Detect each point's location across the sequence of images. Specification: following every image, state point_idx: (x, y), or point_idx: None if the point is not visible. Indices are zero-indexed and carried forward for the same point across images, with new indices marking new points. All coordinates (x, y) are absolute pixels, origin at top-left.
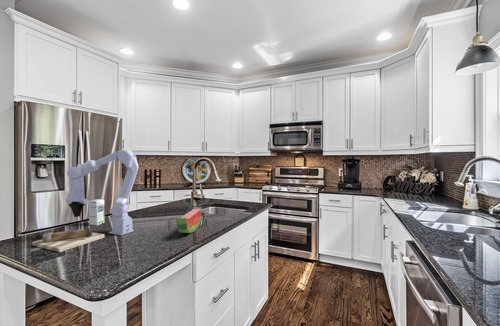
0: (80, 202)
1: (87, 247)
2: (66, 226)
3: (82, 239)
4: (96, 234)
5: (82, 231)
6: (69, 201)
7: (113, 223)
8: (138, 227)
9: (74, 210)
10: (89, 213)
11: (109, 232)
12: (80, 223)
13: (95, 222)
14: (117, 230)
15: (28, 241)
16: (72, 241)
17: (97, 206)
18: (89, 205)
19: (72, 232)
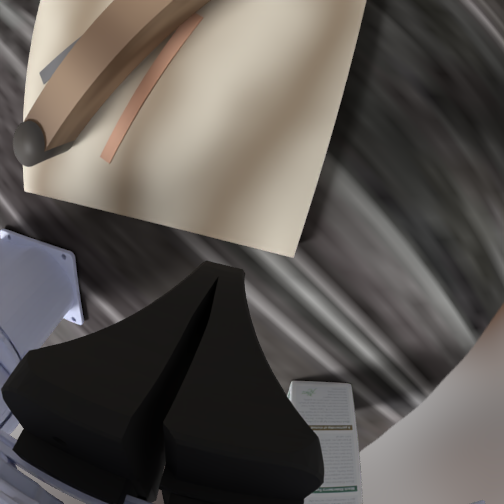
0: (1, 443)
1: (4, 39)
2: (468, 341)
3: (49, 66)
4: (56, 177)
5: (43, 96)
6: (6, 498)
7: (7, 281)
8: (52, 343)
9: (168, 317)
10: (354, 446)
11: (64, 252)
12: (421, 390)
13: (304, 395)
14: (15, 254)
15: (485, 34)
16: (78, 16)
17: None
18: (355, 499)
19: (83, 39)
